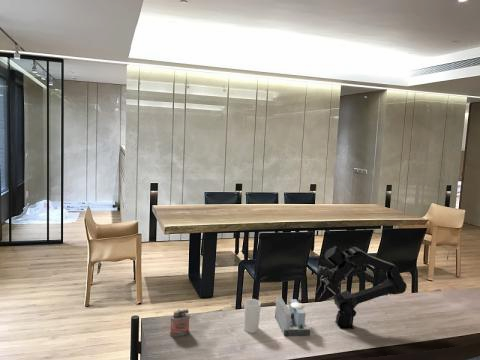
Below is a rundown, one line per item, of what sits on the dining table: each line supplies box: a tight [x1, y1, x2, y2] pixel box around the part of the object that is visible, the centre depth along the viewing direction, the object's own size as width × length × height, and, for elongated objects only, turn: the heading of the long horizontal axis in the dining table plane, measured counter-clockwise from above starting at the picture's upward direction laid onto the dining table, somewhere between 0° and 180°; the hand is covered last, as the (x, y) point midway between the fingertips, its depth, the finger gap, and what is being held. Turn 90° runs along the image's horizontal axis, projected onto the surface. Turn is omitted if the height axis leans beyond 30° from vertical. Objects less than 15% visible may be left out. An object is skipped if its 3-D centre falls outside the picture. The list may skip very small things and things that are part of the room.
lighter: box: [169, 308, 191, 337], centre depth 164 cm, size 8×3×10 cm, turn 117°
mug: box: [243, 298, 262, 333], centre depth 173 cm, size 10×7×12 cm, turn 10°
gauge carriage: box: [288, 298, 306, 328], centre depth 175 cm, size 6×15×9 cm, turn 9°
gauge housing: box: [274, 295, 311, 337], centre depth 176 cm, size 11×17×10 cm, turn 9°
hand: (317, 298), depth 177 cm, fingers open, 9 cm apart
